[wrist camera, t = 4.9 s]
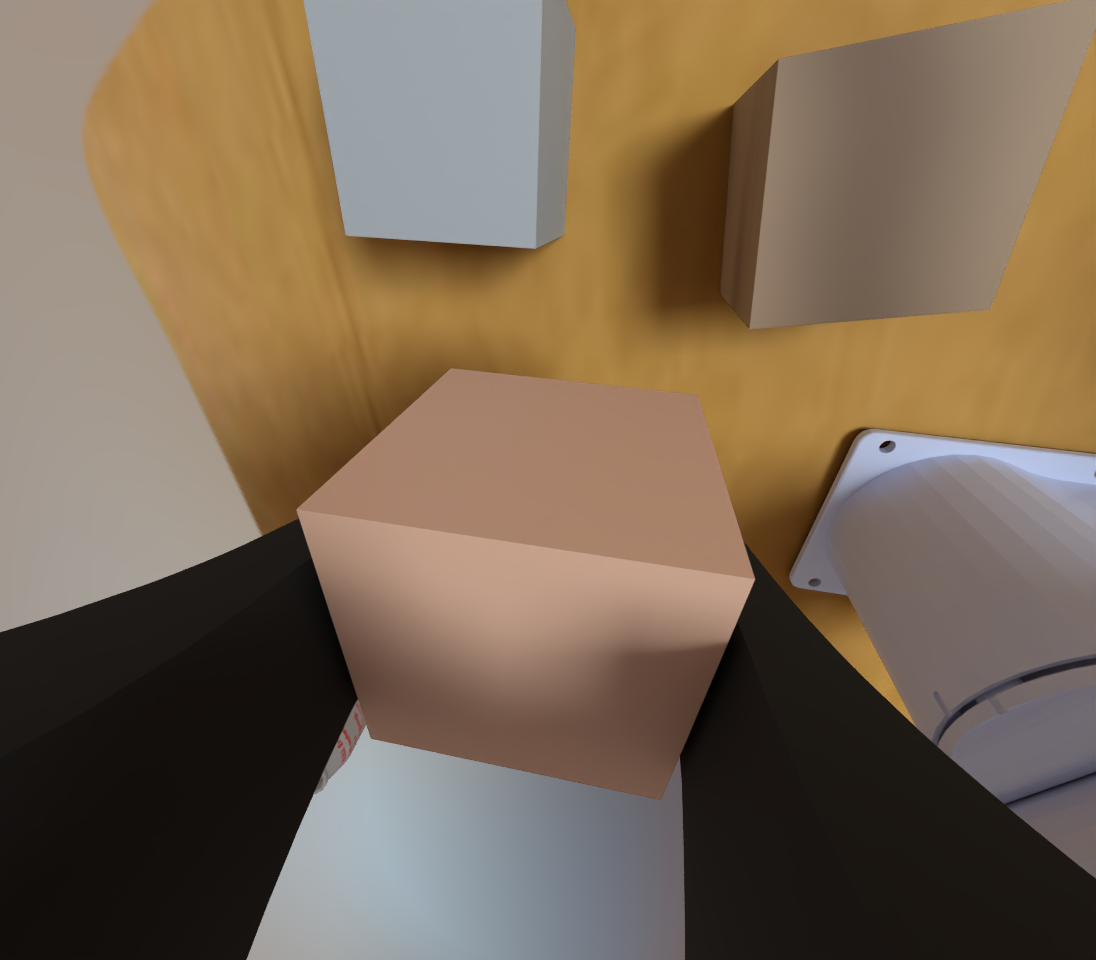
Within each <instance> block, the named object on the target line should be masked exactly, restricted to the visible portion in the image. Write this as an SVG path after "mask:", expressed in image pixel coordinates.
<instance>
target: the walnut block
mask: <svg viewBox="0 0 1096 960" xmlns="http://www.w3.org/2000/svg"><path fill="white" fill-rule="evenodd" d="M1095 29H1096V0H1070V1H1065V2H1060V3H1055V4H1050V5H1045V6H1040V7H1035V8H1030V9H1025V10H1020V11H1015V12H1010V13H1005V14H1000V15H995V16H990V17H985V18H980V19H975V20H970V21H965V22H960V23H955V24H950V25H945V26H940V27H935V28H930V29H925V30H920V31H915V32H910V33H905V34H900V35H896V36H891V37H886V38H881V39H876V40H871V41H866V42H861V43H856V44H851V45H846V46H841V47H836V48H831V49H826V50H821V51H816V52H811V53H806V54H801V55H796V56H791V57H786V58H781V59H778V60H777V61H776V62H775V63H774V64H773V65H772V66H771V67H770V68H769V69H768V70H767V71H766V72H765V73H764V74H763V75H762V76H761V77H760V78H759V79H758V80H757V81H756V82H755V83H754V84H753V85H752V86H751V87H750V88H749V89H748V90H747V91H746V92H745V93H744V94H743V95H742V96H741V97H740V98H739V99H738V100H737V101H736V102H735V103H734V105H733V119H732V133H731V147H730V161H729V175H728V189H727V203H726V217H725V231H724V245H723V259H722V273H721V287H720V294H721V295H722V296H723V298H724V299H725V300H726V301H727V302H728V304H729V305H730V306H731V307H732V309H733V310H734V311H735V312H736V313H737V315H738V316H739V317H740V318H741V320H742V321H743V322H744V323H745V324H746V326H747V327H748V328H749V329H760V328H773V327H785V326H797V325H810V324H822V323H834V322H847V321H859V320H871V319H884V318H896V317H908V316H921V315H933V314H945V313H958V312H970V311H982V310H990V308H991V306H992V303H993V300H994V298H995V295H996V292H997V290H998V287H999V284H1000V282H1001V279H1002V276H1003V274H1004V271H1005V268H1006V266H1007V263H1008V260H1009V258H1010V255H1011V252H1012V250H1013V247H1014V244H1015V242H1016V239H1017V236H1018V234H1019V231H1020V228H1021V226H1022V223H1023V220H1024V218H1025V215H1026V212H1027V210H1028V207H1029V205H1030V202H1031V199H1032V197H1033V194H1034V191H1035V189H1036V186H1037V183H1038V181H1039V178H1040V175H1041V173H1042V170H1043V167H1044V165H1045V162H1046V159H1047V157H1048V154H1049V151H1050V149H1051V146H1052V143H1053V141H1054V138H1055V135H1056V133H1057V130H1058V127H1059V125H1060V122H1061V119H1062V117H1063V114H1064V111H1065V109H1066V106H1067V103H1068V101H1069V98H1070V95H1071V93H1072V90H1073V87H1074V85H1075V82H1076V79H1077V77H1078V74H1079V71H1080V69H1081V66H1082V63H1083V61H1084V58H1085V55H1086V53H1087V50H1088V47H1089V45H1090V42H1091V39H1092V37H1093V34H1094V31H1095Z"/></svg>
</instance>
